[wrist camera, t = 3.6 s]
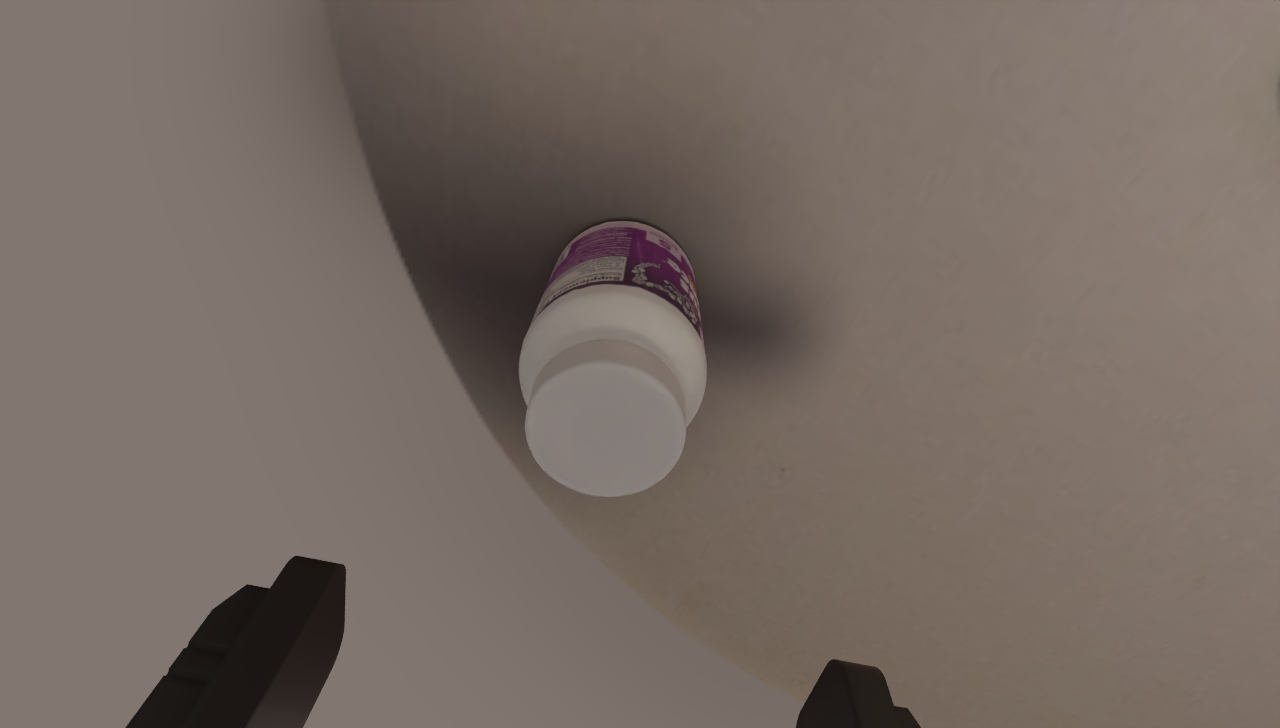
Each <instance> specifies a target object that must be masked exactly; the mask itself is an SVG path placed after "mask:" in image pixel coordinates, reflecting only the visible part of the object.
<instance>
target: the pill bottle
mask: <svg viewBox="0 0 1280 728" xmlns="http://www.w3.org/2000/svg"><path fill="white" fill-rule="evenodd" d="M519 380H520V386H521V390H522V394H523V397H524V400H525V402H526V405H527V407H528V408H527V412H526V418H525V433H526V439H527V443H528V446H529V448H530V451H531V453H532V455H533V457H534V459H535V460H536V462H537V463H538V464H539V466H540V467H541V468H542V469H543V470H544V471H545V472H546V473H547V474H548V475H549V476H551V477H552V478H553V479H554V480H556V481H557V482H559V483H561V484H562V485H564V486H566V487H568V488H570V489H572V490H575V491H577V492H580V493H583V494H587V495H592V496H602V497H618V496H625V495H629V494H634V493H637V492H641V491H643V490H645V489H647V488H649V487H651V486H653V485H654V484H656V483H657V482H659V481H660V480H662V479H663V478H664V477H665V476H666V475H667V474H668V473H669V472H670V471H671V470H672V469H673V467H674V466H675V464H676V463H677V462H678V460H679V458H680V456H681V453H682V450H683V447H684V443H685V438H686V428H687V427H688V425H689V424H690V423H691V421H692V420H693V418H694V417H695V415H696V413H697V411H698V409H699V407H700V405H701V402H702V400H703V396H704V393H705V388H706V381H707V362H706V353H705V346H704V338H703V330H702V324H701V317H700V309H699V303H698V294H697V289H696V282H695V276H694V272H693V269H692V267H691V264H690V262H689V260H688V258H687V256H686V255H685V253H684V252H683V251H682V249H681V248H680V247H679V245H678V244H677V243H676V242H675V241H674V240H672V239H671V238H670V237H669V236H668V235H667V234H664V233H663V232H661V231H659V230H657V229H655V228H653V227H651V226H648V225H645V224H641V223H638V222H630V221H615V222H606V223H603V224H600V225H597V226H594V227H591V228H590V229H588V230H586V231H584V232H583V233H581V234H579V235H578V236H577V237H576V238H575V239H573V240H572V241H571V242H570V243H569V244H568V246H567V247H566V248H565V249H564V251H563V252H562V254H561V255H560V257H559V259H558V261H557V263H556V265H555V267H554V269H553V272H552V274H551V277H550V279H549V282H548V284H547V286H546V289H545V291H544V293H543V296H542V298H541V301H540V303H539V305H538V307H537V310H536V312H535V315H534V317H533V320H532V322H531V324H530V327H529V329H528V332H527V334H526V336H525V338H524V340H523V345H522V350H521V354H520V360H519Z"/></svg>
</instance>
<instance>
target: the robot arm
mask: <svg viewBox="0 0 1280 728" xmlns="http://www.w3.org/2000/svg"><path fill="white" fill-rule="evenodd" d="M345 582H346V569H345V566H344V565H342V564H337V563H332V562H326V561H321V560H316V559H311V558H306V557H300V556H294V557H293V558H292V559H290V560H289V561H288V563H287V564H286V565H285V567H284V568H283V570H282V571H281V573H280V574H279V576H278V577H277V579H276V581H275V582H274V583H273V585H272V586H271V588H270V589H269V588H263V587H258V586H253V585H246V586H244V587H243V588H241V589H240V590H239V591H237V592H236V593H235V594H233V595H232V596H231V597H229V598H228V599H226V600H225V601H224V602H222V603H221V604H219V605H218V606H217V607H215V608H214V609H213V610H212V611H211V612H210V614H209V615H208V616H207V618H206V619H205V621H204V622H203V623H202V625H201V626H200V627H199V629H198V630H197V632H196V633H195V634H194V636H193V637H192V638H191V640H190V641H189V644H188V647H187V648H184V649H183V650H182V652H181V653H180V655H179V656H178V657H177V659H176V660H175V661H174V663H173V664H172V665H171V667H170V668H169V672H168V674H167V675H166V676H163V678H162V679H161V680H160V682H159V683H158V684H157V686H156V687H155V688H154V690H153V691H152V693H151V694H150V695H149V697H148V698H147V699H146V701H145V702H144V703H143V705H142V706H141V708H140V709H139V710H138V712H137V713H136V714H135V716H134V717H133V718H132V720H131V721H130V722H129V724H128V725H127V726H126V728H303V726H304V724H305V722H306V720H307V718H308V716H309V714H310V712H311V710H312V708H313V706H314V704H315V702H316V700H317V698H318V696H319V694H320V692H321V690H322V688H323V686H324V684H325V682H326V680H327V678H328V676H329V673H330V672H331V670H332V668H333V665H334V663H335V660H336V658H337V655H338V652H339V649H340V646H341V642H342V638H343V633H344V623H345V585H346V583H345ZM796 728H921V727H920V726H919V724H918V723H917V721H916V720H915V718H914V717H913V716H912V714H911V713H910V711H909V710H908V708H902V707H897V706H894V705H893V702H892V698H891V695H890V692H889V689H888V686H887V683H886V680H885V677H884V675H883V673H882V672H881V671H880V670H879V669H878V668H876V667H872V666H867V665H862V664H856V663H851V662H846V661H841V660H835V659H833V660H831V661H829V662H828V664H827V665H826V667H825V669H824V670H823V672H822V674H821V676H820V677H819V679H818V681H817V683H816V685H815V686H814V688H813V690H812V692H811V693H810V695H809V697H808V699H807V700H806V702H805V704H804V706H803V708H802V709H801V711H800V714H799V717H798V720H797V725H796Z"/></svg>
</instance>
